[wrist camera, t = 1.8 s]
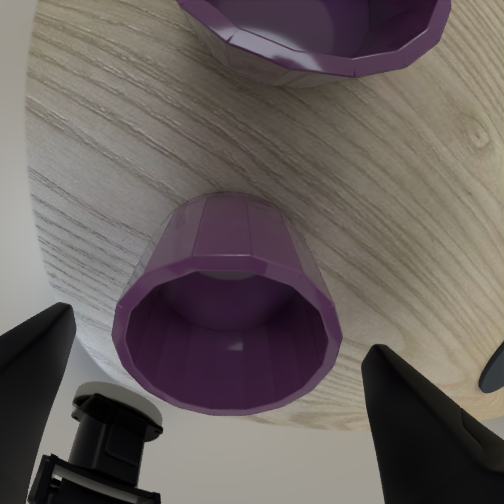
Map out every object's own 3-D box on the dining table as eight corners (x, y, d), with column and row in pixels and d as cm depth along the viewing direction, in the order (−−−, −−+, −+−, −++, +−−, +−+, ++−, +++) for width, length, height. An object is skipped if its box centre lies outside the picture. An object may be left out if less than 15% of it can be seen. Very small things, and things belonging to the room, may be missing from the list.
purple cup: (230, 347, 13) (230, 432, 9) (122, 268, 11) (78, 348, 7) (336, 267, 12) (379, 348, 8) (227, 155, 9) (220, 194, 5)
